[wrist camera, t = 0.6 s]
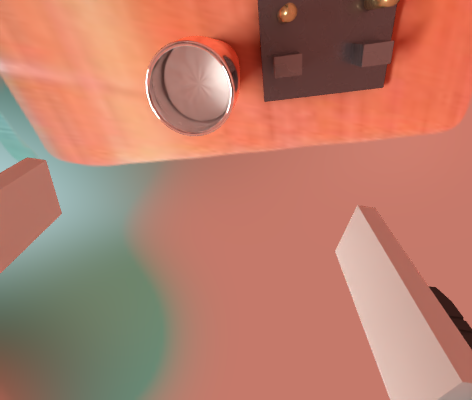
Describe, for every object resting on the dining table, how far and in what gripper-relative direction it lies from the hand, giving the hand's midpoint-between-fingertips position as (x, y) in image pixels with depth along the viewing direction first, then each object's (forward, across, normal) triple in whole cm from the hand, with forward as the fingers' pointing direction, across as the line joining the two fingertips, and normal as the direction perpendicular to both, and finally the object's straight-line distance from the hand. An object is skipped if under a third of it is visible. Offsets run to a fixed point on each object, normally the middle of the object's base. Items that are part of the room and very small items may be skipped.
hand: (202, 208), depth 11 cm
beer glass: (+26, -3, +2) cm, 26 cm away
